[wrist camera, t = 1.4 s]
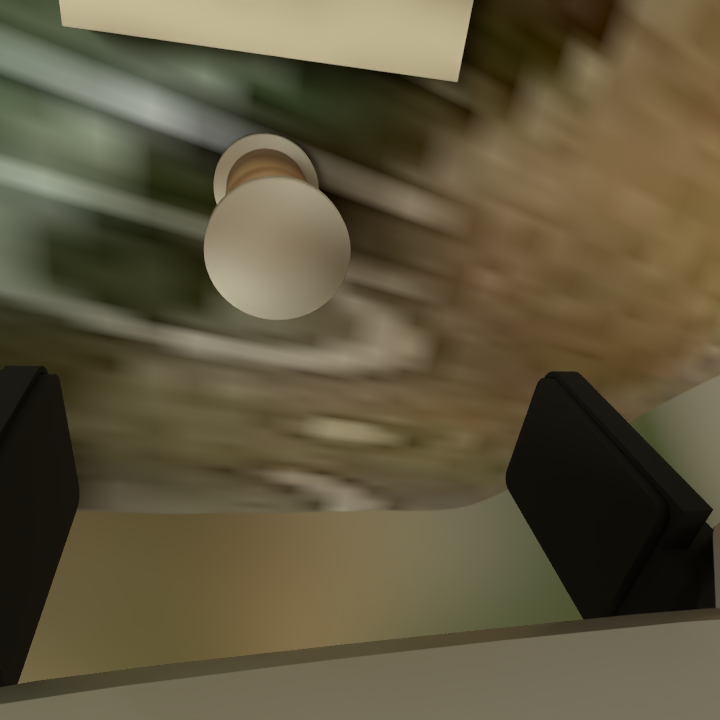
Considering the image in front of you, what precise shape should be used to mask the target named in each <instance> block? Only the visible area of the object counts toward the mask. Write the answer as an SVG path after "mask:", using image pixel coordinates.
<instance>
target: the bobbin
mask: <svg viewBox="0 0 720 720" xmlns="http://www.w3.org/2000/svg"><path fill="white" fill-rule="evenodd" d="M214 195H215V200H216V203H217V206H216V207H215V209H214V210H213V212H212V214H211V216H210V219H209V222H208V225H207V229H206V235H205V241H204V257H205V263H206V268H207V271H208V273H209V276H210V278H211V280H212V282H213V284H214V286H215V287H216V289H217V290H218V291H219V293H220V294H221V295H222V296H223V297H224V298H225V299H226V300H227V301H228V302H229V303H231V304H232V305H233V306H235V307H236V308H238V309H239V310H241V311H243V312H245V313H247V314H249V315H252V316H255V317H259V318H264V319H271V320H286V319H293V318H297V317H300V316H303V315H306V314H308V313H311V312H313V311H314V310H316V309H318V308H319V307H321V306H322V305H324V304H325V303H326V302H327V301H328V300H329V299H331V298H332V296H333V295H334V294H335V293H336V292H337V290H338V289H339V287H340V286H341V284H342V283H343V281H344V278H345V276H346V274H347V271H348V268H349V262H350V253H351V248H350V239H349V234H348V231H347V228H346V225H345V223H344V221H343V219H342V217H341V215H340V214H339V212H338V210H337V208H336V207H335V206H334V204H333V203H332V201H331V200H330V199H329V198H328V197H327V196H326V195H325V194H324V193H323V192H321V191H320V190H319V185H318V179H317V174H316V172H315V169H314V167H313V165H312V163H311V161H310V159H309V158H308V156H307V155H306V153H305V152H304V151H303V150H302V149H301V148H300V147H299V146H298V145H297V144H295V143H294V142H293V141H291V140H290V139H288V138H286V137H283V136H281V135H278V134H274V133H265V132H261V133H253V134H249V135H246V136H244V137H241V138H240V139H238V140H236V141H235V142H233V143H232V144H231V145H230V146H229V147H228V148H227V149H226V150H225V151H224V153H223V154H222V156H221V157H220V159H219V161H218V164H217V167H216V171H215V176H214Z"/></svg>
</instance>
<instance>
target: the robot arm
mask: <svg viewBox="0 0 720 720" xmlns="http://www.w3.org/2000/svg"><path fill="white" fill-rule="evenodd" d="M506 485H507V488H508V490H509V492H510V493H511V495H512V497H513V499H514V500H515V502H516V504H517V506H518V507H519V509H520V511H521V513H522V514H523V516H524V518H525V519H526V521H527V523H528V524H529V526H530V528H531V529H532V531H533V533H534V535H535V537H536V538H537V540H538V542H539V544H540V545H541V547H542V549H543V550H544V552H545V554H546V556H547V557H548V559H549V561H550V562H551V564H552V566H553V568H554V569H555V571H556V573H557V575H558V576H559V578H560V580H561V581H562V583H563V585H564V587H565V588H566V590H567V592H568V594H569V595H570V597H571V599H572V600H573V602H574V604H575V606H576V607H577V609H578V611H579V613H580V614H581V616H582V618H583V619H584V620H574V621H564V622H554V623H544V624H534V625H524V626H514V627H505V628H495V629H486V630H476V631H467V632H457V633H448V634H438V635H429V636H419V637H410V638H401V639H392V640H382V641H373V642H364V643H354V644H345V645H335V646H326V647H318V648H309V649H301V650H291V651H282V652H273V653H264V654H256V655H246V656H237V657H228V658H219V659H211V660H201V661H192V662H184V663H175V664H166V665H157V666H149V667H143V668H134V669H127V670H119V671H111V672H103V673H95V674H88V675H79V676H71V677H64V678H56V679H49V680H41V681H34V682H28V683H22V684H17V683H18V681H19V678H20V675H21V672H22V669H23V667H24V664H25V661H26V657H27V655H28V652H29V648H30V646H31V643H32V640H33V637H34V634H35V631H36V628H37V625H38V622H39V619H40V616H41V613H42V610H43V607H44V605H45V602H46V599H47V596H48V593H49V590H50V587H51V584H52V581H53V578H54V575H55V572H56V569H57V566H58V563H59V561H60V558H61V555H62V552H63V549H64V546H65V543H66V540H67V537H68V534H69V531H70V528H71V525H72V522H73V519H74V516H75V513H76V510H77V507H78V502H79V485H78V479H77V473H76V468H75V462H74V457H73V451H72V446H71V440H70V434H69V429H68V423H67V418H66V412H65V407H64V401H63V396H62V390H61V384H60V380H59V377H58V376H57V375H56V374H48V372H47V370H46V368H45V367H43V366H5V367H4V368H3V369H2V370H1V372H0V720H720V523H718V524H717V525H716V526H715V527H714V528H713V529H712V528H711V527H710V526H709V525H708V524H707V523H706V520H707V518H708V517H709V515H710V514H711V512H712V511H713V509H712V508H711V507H710V506H709V505H708V504H707V503H706V502H705V501H704V500H703V499H702V498H701V497H700V496H699V495H698V494H697V493H696V492H695V490H693V488H691V486H690V485H689V484H688V483H687V482H686V481H685V480H684V479H683V478H682V477H681V476H680V475H679V474H678V473H677V472H676V471H675V470H674V469H673V468H672V467H671V466H670V465H669V464H668V463H667V462H666V461H665V460H664V459H663V458H662V457H661V456H660V455H659V454H658V453H657V452H656V451H655V450H654V449H653V448H652V447H651V446H650V445H649V444H648V443H647V442H646V441H645V440H644V438H643V437H641V435H640V434H639V433H638V432H637V431H636V430H635V429H634V428H632V426H631V425H630V424H629V423H628V422H627V421H626V420H625V419H624V418H623V417H622V416H621V415H620V414H619V413H618V412H617V411H616V410H615V409H614V408H613V407H612V406H611V405H610V404H609V403H608V402H607V401H606V400H605V399H604V398H603V397H602V396H601V395H600V394H599V393H598V392H597V391H596V390H595V389H594V388H593V387H592V385H591V384H590V383H589V382H588V381H587V380H586V379H585V378H584V377H583V376H582V375H581V374H579V373H578V372H554V371H552V372H549V373H548V374H547V375H546V376H545V378H542V379H540V380H539V381H538V383H537V386H536V389H535V392H534V394H533V397H532V400H531V403H530V406H529V409H528V412H527V414H526V417H525V420H524V423H523V426H522V429H521V431H520V434H519V437H518V440H517V443H516V446H515V449H514V451H513V454H512V457H511V460H510V463H509V466H508V469H507V472H506Z"/></svg>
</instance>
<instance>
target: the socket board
mask: <svg viewBox="0 0 720 720" xmlns="http://www.w3.org/2000/svg"><path fill="white" fill-rule="evenodd" d="M473 1H474V0H59V3H60V11H61V19H62V26H67V27H74V28H81V29H88V30H95V31H102V32H109V33H116V34H123V35H130V36H137V37H144V38H151V39H158V40H165V41H172V42H179V43H186V44H193V45H200V46H207V47H214V48H221V49H228V50H235V51H242V52H249V53H256V54H263V55H270V56H277V57H285V58H292V59H299V60H306V61H313V62H320V63H327V64H334V65H341V66H348V67H355V68H362V69H369V70H376V71H383V72H390V73H397V74H404V75H411V76H418V77H425V78H432V79H439V80H446V81H453V82H458V76H459V71H460V66H461V61H462V56H463V51H464V46H465V41H466V36H467V31H468V26H469V21H470V16H471V11H472V6H473Z"/></svg>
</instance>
